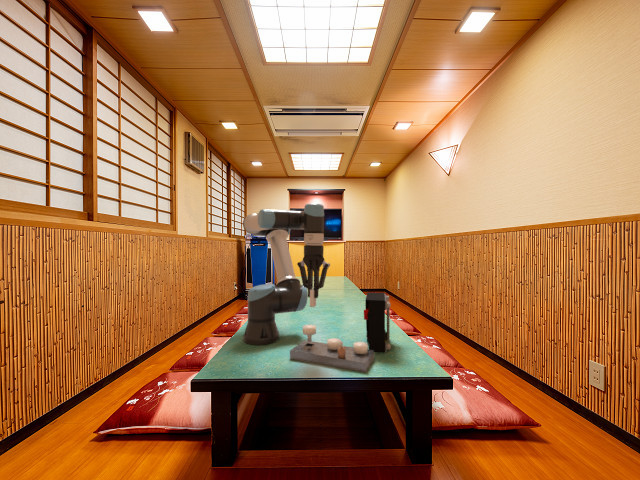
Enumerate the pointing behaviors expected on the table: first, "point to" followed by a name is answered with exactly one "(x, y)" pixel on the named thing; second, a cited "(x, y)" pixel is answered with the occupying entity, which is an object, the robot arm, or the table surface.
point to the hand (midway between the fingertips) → (312, 306)
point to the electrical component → (377, 321)
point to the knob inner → (309, 331)
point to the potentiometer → (341, 351)
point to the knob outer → (360, 347)
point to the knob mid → (333, 343)
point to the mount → (331, 356)
